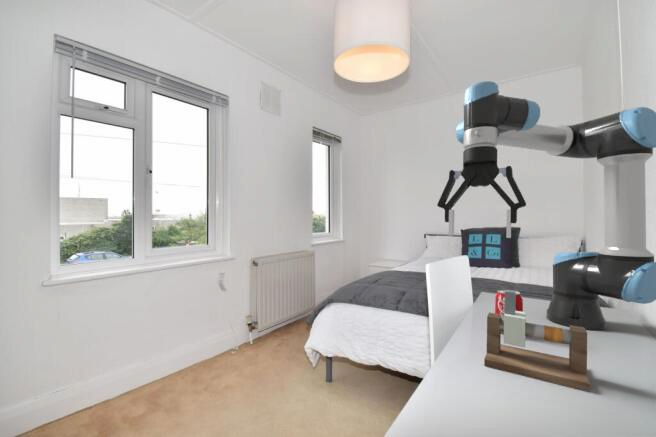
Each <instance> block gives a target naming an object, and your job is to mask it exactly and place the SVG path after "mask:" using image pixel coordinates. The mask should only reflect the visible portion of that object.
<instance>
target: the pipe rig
mask: <svg viewBox="0 0 656 437" xmlns="http://www.w3.org/2000/svg"><path fill="white" fill-rule="evenodd" d="M501 332H504V319H502V318H501V314H496V313H495V312H488V314H487V316H486V354H485V355H484V356H485V357H484V361H483V362H484V365H483V366H484V367H487V368H490V369H491V368H492V369H496V370H499V371H502V372H504V371H505V372H507V373H512V374H516V375H520V376H524V377H527V378H532V379H536V380H540V381H545V382H548V383H552V384H557V385H561V386H565V387H569V388H573V389H577V390H581V391H585V392H588V393H590V392H591V383H590V381H589V378H588V331H587V329H585V328H584V327H578V326H571V325H570V326H569V329H567V328H563V327H559V326H558V327H556V326H550V325H543V324H537V323H531V322H527V321H526V322H525V338H526V337H529V338H533V339H537V340H543V341H548V342H552V343H558V344H565V345H568V348H569V349H568V352H569V353H568V355H569V356H568V357H564V356H560V355H554V354H550V353H544V352H540V351H535V350H529V349H525V348H522V347H517V346H516V347H515V346H512V345H511V346H510V345H507V344H502V343H501V338H502V337H501V334H502V333H501Z"/></svg>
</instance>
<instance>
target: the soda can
mask: <svg viewBox="0 0 656 437" xmlns="http://www.w3.org/2000/svg"><path fill="white" fill-rule="evenodd" d="M506 290H507V289H498V290H497V293H496V294H495V296H494V298H495V299H494V301H495V302H494V313H496V314H501V318H502V319H504V314H505V291H506ZM510 290H511V291H514V290H512V289H510ZM515 291H516V306H515V311H520V312H524V302H523V301H524V299H523V297H522V295H521V292H520V291H517V290H515ZM501 334H502V335H504V332H501Z"/></svg>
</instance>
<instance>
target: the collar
mask: <svg viewBox="0 0 656 437" xmlns="http://www.w3.org/2000/svg"><path fill="white" fill-rule="evenodd" d="M505 290H506V291H505V314H504V334H503V344H504V345H509V346H510V345H511V346H513V347H515V346H516V347H518V348H523V349H525V348H526V336H525V322H526V323H527V321H526V319H527V318H526V315H527V314H526V313H527V311H526V312H524V311H523V312H520V311H515V306H516V291H517V290H513V291H511V290H512V289H505Z"/></svg>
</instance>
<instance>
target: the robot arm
mask: <svg viewBox="0 0 656 437" xmlns="http://www.w3.org/2000/svg"><path fill="white" fill-rule="evenodd" d="M499 90H500V89H499V85H498V84H497V83H496V82H494V81H491V80H489V81H488V80H487V81H486V80H485V81H479V82H476V83H474V84H472V85H469V86H468V87H467V88H466V90H465V92H464V98H463V120H462V121H460V122H459V123H458V124H457V125H456V128H455V137H456V140H457V141H458V142H459V143H460V144H462V148H464V151H462V155H463V156H462V160H463V161H462V169H461V170H454V169H451V170H449V173H448V179H447V182H446V185H445V187H444V189H443V190H442V193H441V195H440V198H439V199H438V202H437V207H438V208H441V209H444V222H445V223H448V237H449V236H451V237H453V236H455V209H452V208H453V207H454V206H455V205H456V204H457V202H458V201H459V200H460V199H461V197H462V196H463V195H464V193H465V192H466V191H467V190H468V189H469V188H470V187H473V188H478V187H484V188H485V187H488V186H491V187H492V188H493V189H494V190H495V192H496V193H497V194H498V195H499V196H500V198H502V200H503V201H504V202H505V203H506V205H508V207H509V208H510V209H506V233H505V234H506V235H505V236H506V238H507V239H511V238H512V224H517V221H518V217H517V216H518V210H519V209H521V208H524V207H526V206H527V202H526V200H525V198H524V196H523V194H522V192H521V190H520V188H519V186H518V184H517V182H516V180H515V178H514V176H513V174H514V173H513V167H512V166H511V165H507V166H506V167H500V168H499V167H498V148H497V146H498V145H499V146H506V147H514V148H521V149H527V150H528V149H529V150H533V151H534V150H535V151H541V152H546V153H547V155H550V156H556V157H561V158H563V157H564V158H573V159H593V158H595V159H596V162H597V163H599V164H600V165H601V166H603V206H604V207H603V212H604V214H603V216H604V217H603V218H604V220H603V221H604V223H603V224H604V225H603V226H604V227H603V228H604V247H603V248H601V249H600V250H598V251H585V252H584V251H577V252H573V251H572V252H571V251H570V252H569V251H568V252H557V253H556V254H555V255H554V256H553V263H552V297H551V300H550V303H549V306H548V308H547V309H546V314H545V315H546V316H545V318H546V319H547V320H549V321H551V322H553V323H555V324H558V325H562V326H566V327H570V325H571V326H578V327H584V328H585V330H603V329H604V330H605V329H606V319H605V317H604V314H603V311H602V308H601V306H600V303H599V296H600V297H601V296H602V297H606V298H611V299H616V300H620V301H623V302H627V303H636V304H645V305H646V304H651V303H654V302H655V301H656V261H655V254H654V253H652V252H651V251H650V250H648V248H647V223H646V222H647V220H646V218H647V217H646V216H647V214H646V212H647V211H646V210H647V208H646V207H647V206H646V203H647V202H646V163H647V161H649V160H650V159H651V158H652V157H654V149H655V148H656V111H655V110H654V109H651V108H649V107H646V106H639V107H634V108H629V109H623V110H621V111H618V112H615V113H612V114H609V115H605V116H602V117H598V118H594V119H591V120H588V121H585V122H580V123H576V124H570V125H564V124H559V125H556V126H550V125H544V124H543V125H542V124H539V123H538V122H539V120H540V117H541V106H540V105H539V104H538V103H537V102H535V101H533V100H528V99H527V98H520V97H518V98H517V97H512V96H505V95H501V94H500V91H499ZM499 174H502V176H503V177H506V179H507V182H508V184H509V186H510V187H511V190H512V192H513V194H514V196H515V197H516V199H517V201H518V202H514V201H513V200H512V199H511V197H510V196H509V195H508V194H507V193H506V192H505V191H504V190H503V188H502V187H501V186H500V185H499V184H498V183H497V182H496V181H495V179H496V178H497V176H498V175H499ZM460 176H461V177H462V178H463V179H464V180H463V182H462V183H461V184H460V186H459V188H458V189H457V190H456V191H455V192H454V194H453V195H452V196H451V197H450V194H451V192H452V190H453V188H454V186H455V183H456V181H457V180H458V179H459V178H460ZM449 197H450V199H449ZM448 199H449V200H448Z"/></svg>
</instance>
